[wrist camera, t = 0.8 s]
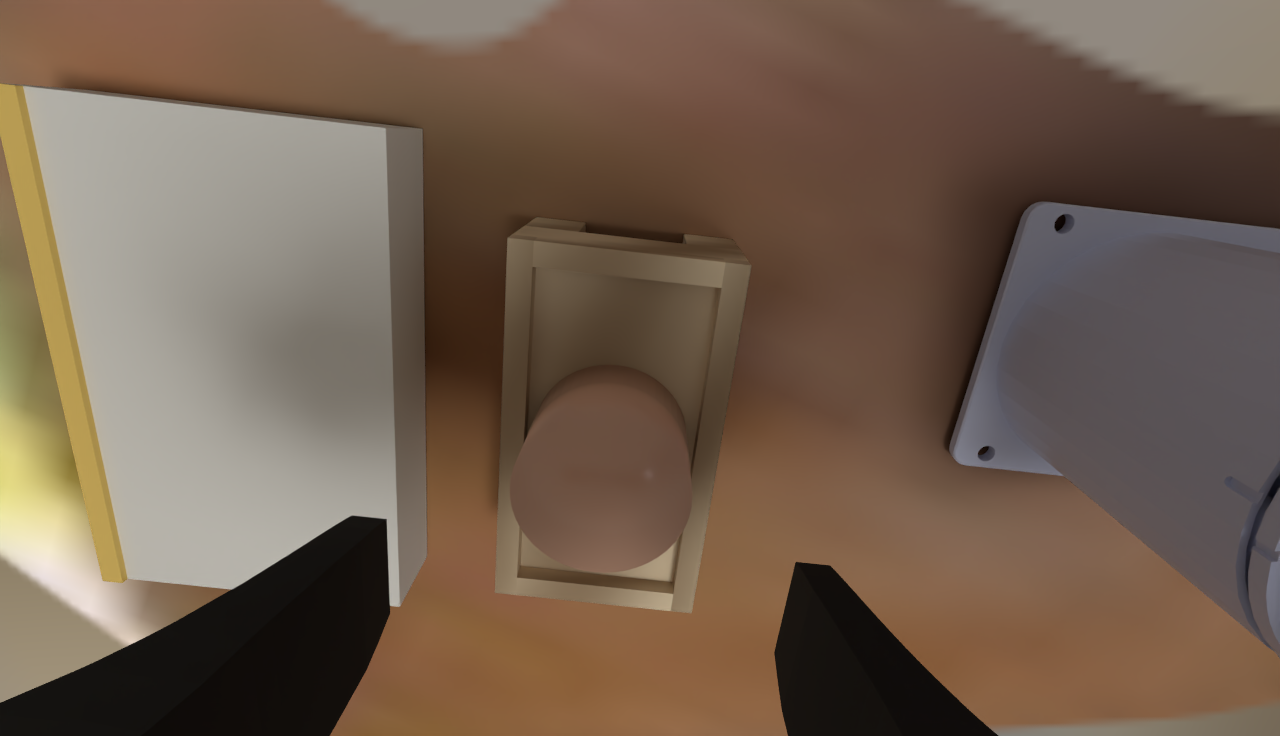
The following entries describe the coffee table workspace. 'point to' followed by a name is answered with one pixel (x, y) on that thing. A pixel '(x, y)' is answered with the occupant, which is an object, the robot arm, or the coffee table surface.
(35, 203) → the dock
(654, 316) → the wooden box
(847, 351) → the coffee table surface
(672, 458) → the pink rounded cylinder
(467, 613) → the coffee table surface
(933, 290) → the coffee table surface
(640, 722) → the coffee table surface
